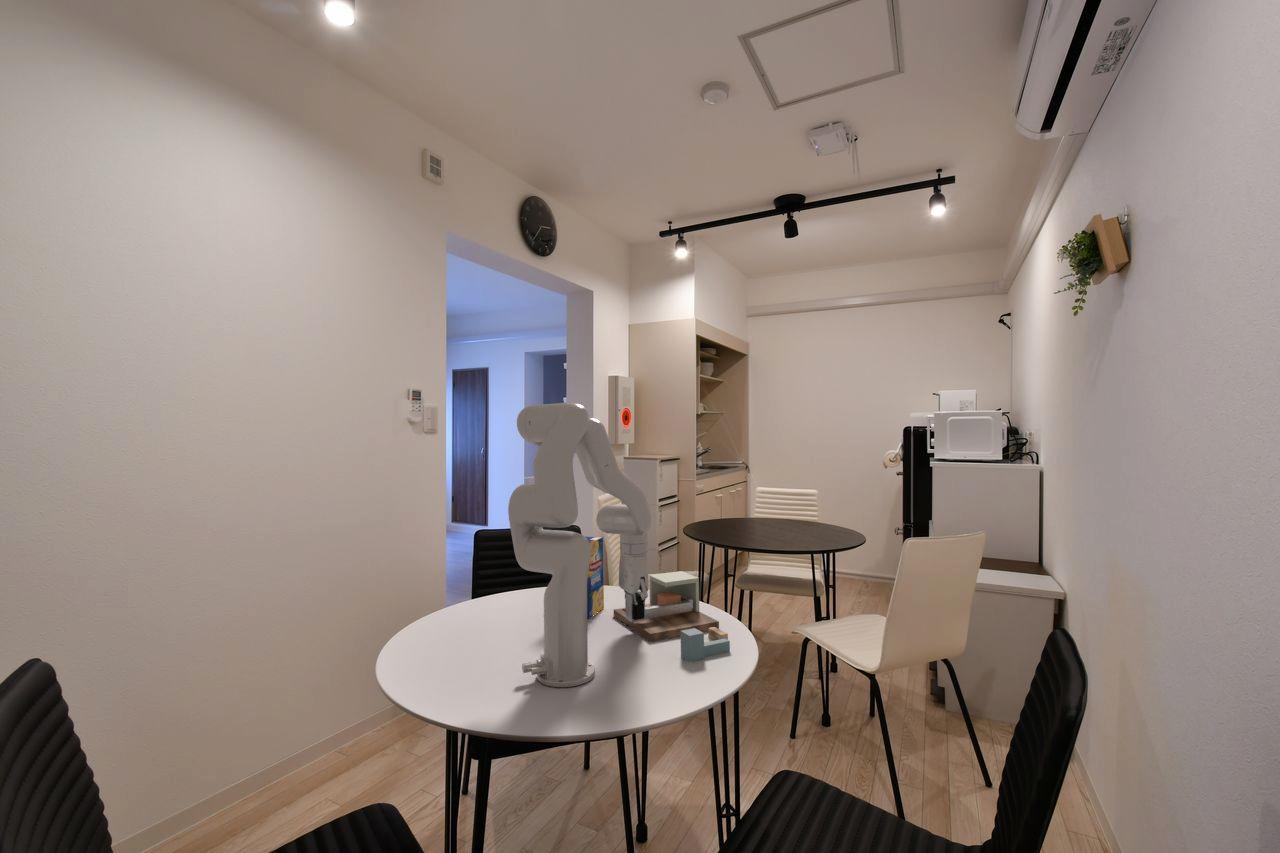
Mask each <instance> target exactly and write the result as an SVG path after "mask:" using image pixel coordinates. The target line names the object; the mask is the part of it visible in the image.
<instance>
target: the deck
mask: <svg viewBox="0 0 1280 853" xmlns="http://www.w3.org/2000/svg"><path fill="white" fill-rule="evenodd" d="M649 606H650V603H645V607H649ZM614 616H615V617H616V619H617V618H618V619H619V620H618V619H617V620H618V621H620V620H621V621H622V622H621V621H620V622H621V623H622V624H624V623H625V624H624V625H626V626H627V625H628V626H629V627H628V626H627V627H628V628H630V627H631V628H632V630H633V629H634V630H635V631H634V630H633V631H634V632H636V633H637V632H638V633H637V634H639V635H640V634H641V635H640V636H641V637H643V636H644V637H645V639H646V640H647V639H648V640H647V641H649V642H650V641H652V642H656V640H657V641H660V640H661V639H663V640H666V638H668V639H673V638H678V637H681V631H682V630H688V629H693V628H696V629H697V630H699V631H701V632H703V633H704V632H708V628H711V627H716V628H718V629H720V621H718V620H717V619H715V618H713V617H711V616H709V615H707V614H705V613H703V612H701V611H699V612H695V611H693V610H692V611H689V612H683V613H678V614H672V615H665V616H659V617H654V618H648V619H645V620H644V621H638V622H630V621H629V620H627V619H626V611H625V607H621V608H614V609H613V617H614ZM615 617H614V618H615ZM631 628H630V629H631ZM677 636H678V637H677ZM644 637H643V638H644ZM672 637H673V638H672ZM661 641H662V640H661Z"/></svg>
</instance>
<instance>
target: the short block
mask: <svg viewBox="0 0 1280 853" xmlns="http://www.w3.org/2000/svg"><path fill="white" fill-rule="evenodd" d="M707 634H708V638H710V639H711V640H712V641H715V640H720V639H727V640H729V633H728V632H725V631H724V630H721V629H720V628H719V629H718V628H716V627H711V628H708V631H707Z"/></svg>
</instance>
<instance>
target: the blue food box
mask: <svg viewBox="0 0 1280 853" xmlns="http://www.w3.org/2000/svg"><path fill="white" fill-rule="evenodd" d="M585 537H586V538H587V539H588V541H589V543H590V546H591V559H590V565H589V571H588V579H587V620H590V619H591V618H593V617H594V616H596V615H597V614H598V613H597V612H599V611H600V610H602V609H603V608H604V609H605V604H604V603H605V600H604V599H605V594H604V592H605V591H604V590H605V589H604V587H605V586H604V584H605V582H604V537H602V536H601V537H599V536H585ZM604 609H603V610H604ZM603 610H602V611H603ZM600 612H601V611H600ZM600 612H599V613H600ZM596 613H597V614H596ZM595 614H596V615H595ZM593 615H594V616H593ZM592 616H593V617H592ZM590 617H591V618H590ZM589 618H590V619H589Z"/></svg>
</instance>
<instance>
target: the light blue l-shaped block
mask: <svg viewBox="0 0 1280 853" xmlns="http://www.w3.org/2000/svg"><path fill="white" fill-rule="evenodd" d="M704 634H705V633H704V632H701V631H699V630H697V629H696V628H693V629H688V630H682V631H681V636H680V657H682V658H683V659H685V660H686V661H687V662H689V663H691V662H696V661H700V660H704V659H705V657H710V656H715V655H720V654H724V653H729V652H730V651H731V646H730V645H731V643H730V642H731V641H730V640H729V639H728V640H727V639H720V640H711V641H707V642H705V635H704Z"/></svg>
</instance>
